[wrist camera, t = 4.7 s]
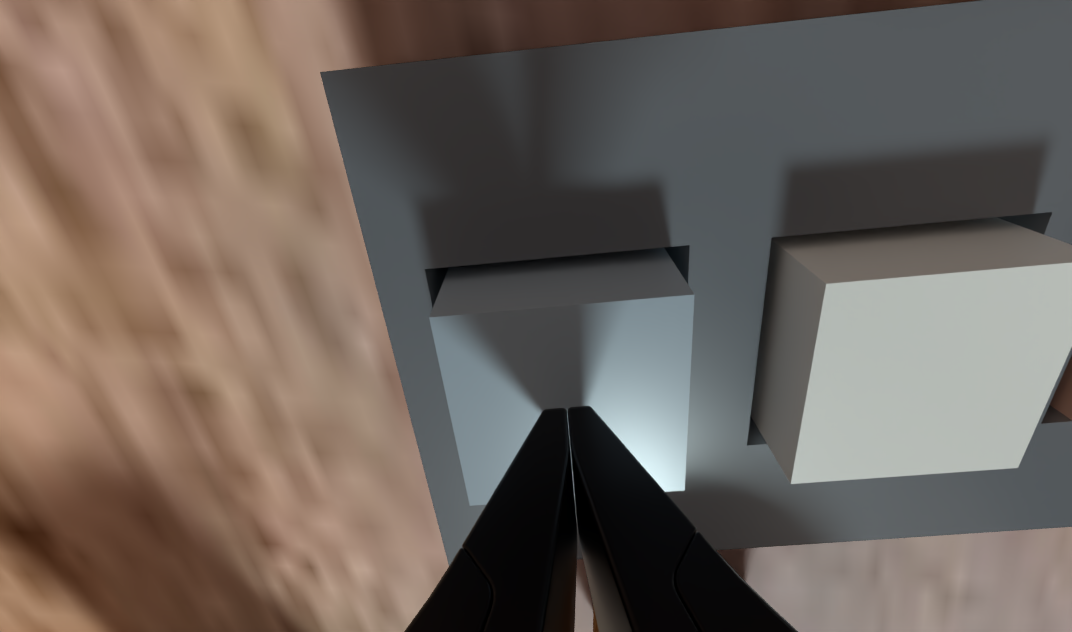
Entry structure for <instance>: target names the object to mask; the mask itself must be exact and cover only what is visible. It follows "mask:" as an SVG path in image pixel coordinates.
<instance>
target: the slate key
mask: <svg viewBox="0 0 1072 632" xmlns="http://www.w3.org/2000/svg"><path fill="white" fill-rule="evenodd" d="M693 314H694V293H693V291H692V290H691V288H690V287H689V285H688V284H687V282H686V281H685V279H684V278H683V276H682V274H681V273H680V271H679V270H678V268H677V267H676V265H675V264H674V262H673V261H672V259H671V258H670V256H669V254H668V253H667V251H666V250H665V248H664V247H663V248H652V249H641V250H630V251H619V252H608V253H597V254H586V255H575V256H564V257H553V258H542V259H531V260H520V261H509V262H499V263H488V264H477V265H466V266H455V267H449V268H448V271H447V273H446V276H445V278H444V281H443V283H442V286H441V289H440V291H439V294H438V296H437V299H436V301H435V304H434V306H433V309H432V311H431V314H430V317H429V319H430V324H431V329H432V333H433V338H434V343H435V347H436V352H437V356H438V361H439V366H440V370H441V375H442V380H443V384H444V389H445V393H446V398H447V403H448V407H449V412H450V417H451V421H452V426H453V430H454V435H455V440H456V444H457V449H458V453H459V458H460V463H461V467H462V472H463V477H464V481H465V486H466V490H467V495H468V500H469V504H470V506H473V505H486V504H487V503H488V501H489V499H490V498H491V496H492V494H493V493H494V491H495V489H496V488H497V486H498V484H499V483H500V481H501V479H502V478H503V476H504V474H505V473H506V471H507V469H508V468H509V466H510V464H511V463H512V461H513V459H514V458H515V456H516V454H517V453H518V451H519V449H520V448H521V446H522V444H523V443H524V441H525V439H526V438H527V436H528V434H529V433H530V431H531V429H532V428H533V426H534V424H535V423H536V421H537V419H538V418H539V416H540V414H541V413H542V411H543V410H545V409H552V408H565V409H566V410H568V408H570V407H577V406H590V407H592V408H593V409H594V411H595V412H596V413H597V414H598V415H599V416H600V417H601V419H602V420H603V421H604V422H605V423H606V424H607V426H608V427H609V428H610V429H611V430H612V431H613V432H614V434H615V435H616V436H617V437H618V438H619V439H620V441H621V442H622V443H623V444H624V445H625V446H626V447H627V449H628V450H629V451H630V452H631V453H632V454H633V456H634V457H635V458H636V459H637V460H638V461H639V462H640V464H641V465H642V466H643V467H644V468H645V469H646V471H647V472H648V473H649V474H650V475H651V476H652V477H653V479H654V480H655V481H656V482H657V483H658V484H659V486H660V487H661V488H662V489H663V490H664V491H665V492H670V491H684V490H685V475H686V455H687V435H688V414H689V394H690V374H691V354H692V334H693ZM567 417H568V414H567ZM568 429H569V426H568ZM569 440H570V437H569ZM570 451H571V449H570ZM571 463H572V460H571ZM572 474H573V471H572ZM573 486H574V483H573ZM574 497H575V494H574Z"/></svg>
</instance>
